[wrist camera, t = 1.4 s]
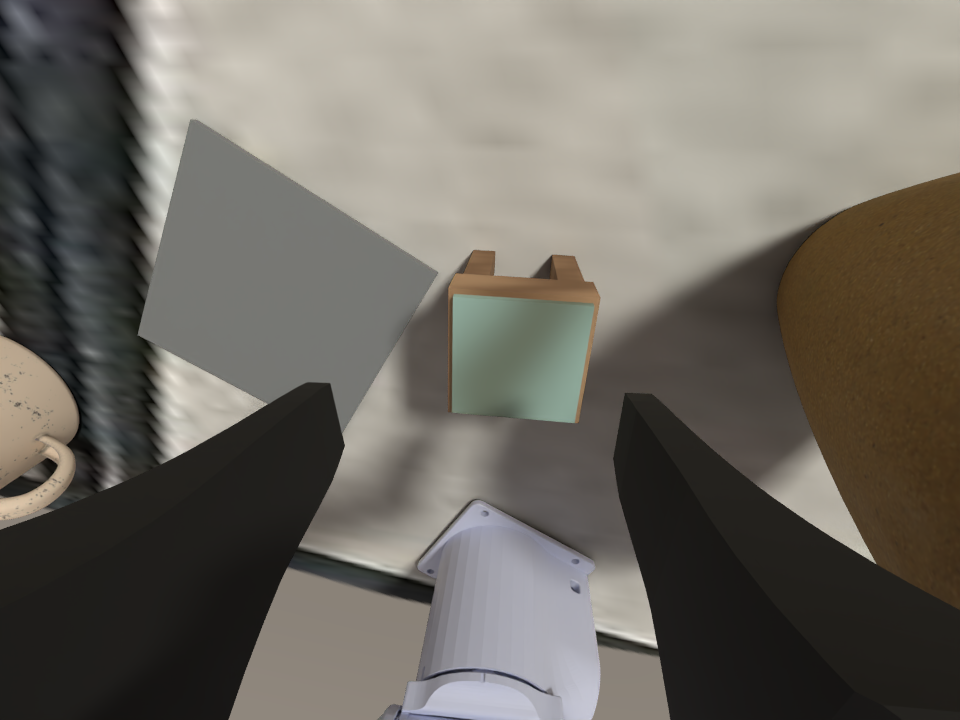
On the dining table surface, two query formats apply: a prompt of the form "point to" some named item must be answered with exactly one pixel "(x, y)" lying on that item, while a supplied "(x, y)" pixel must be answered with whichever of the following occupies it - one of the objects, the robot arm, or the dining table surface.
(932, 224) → the plant pot
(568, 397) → the stool
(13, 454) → the teacup with lid
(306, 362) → the mat
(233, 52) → the dining table surface
